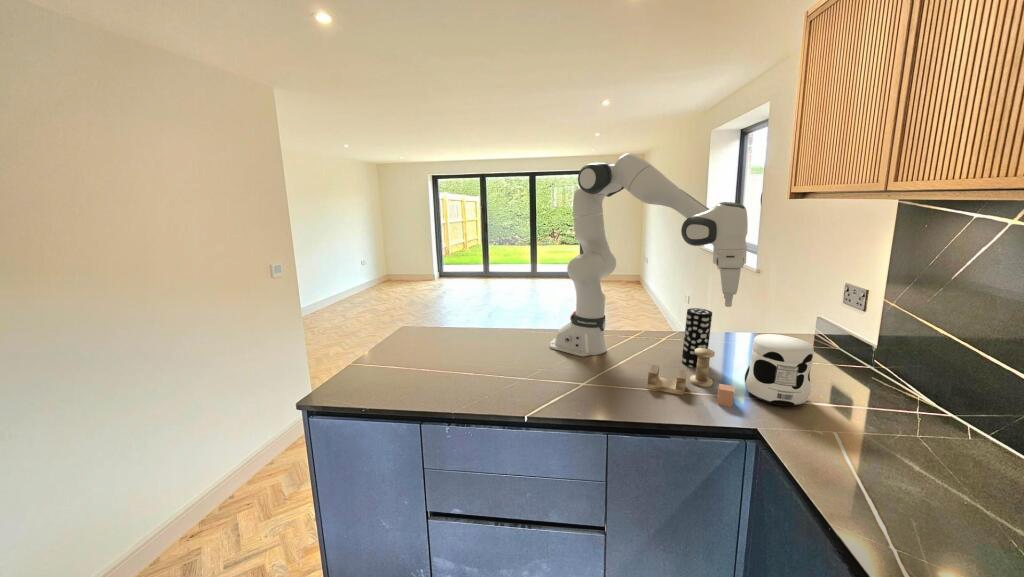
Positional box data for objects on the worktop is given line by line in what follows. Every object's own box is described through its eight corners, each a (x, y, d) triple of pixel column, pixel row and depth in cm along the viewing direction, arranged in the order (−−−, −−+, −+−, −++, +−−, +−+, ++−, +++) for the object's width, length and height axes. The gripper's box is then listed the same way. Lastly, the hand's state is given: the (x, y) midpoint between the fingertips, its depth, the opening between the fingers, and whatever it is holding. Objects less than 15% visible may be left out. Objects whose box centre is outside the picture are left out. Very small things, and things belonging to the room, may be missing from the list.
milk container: (769, 381, 143) (777, 330, 139) (821, 405, 128) (832, 348, 124) (730, 389, 137) (737, 336, 133) (780, 415, 122) (790, 356, 117)
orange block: (717, 404, 128) (719, 389, 126) (717, 398, 131) (719, 383, 130) (732, 407, 126) (734, 391, 125) (731, 401, 130) (733, 386, 128)
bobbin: (688, 384, 140) (692, 353, 138) (690, 376, 147) (693, 346, 144) (712, 388, 138) (716, 356, 135) (712, 380, 144) (716, 349, 141)
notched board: (647, 388, 137) (648, 372, 136) (650, 379, 144) (651, 364, 142) (683, 395, 133) (685, 378, 132) (685, 386, 139) (686, 370, 138)
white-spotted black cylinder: (702, 370, 152) (709, 316, 147) (678, 364, 157) (684, 311, 152) (708, 362, 158) (714, 310, 154) (685, 357, 163) (690, 307, 158)
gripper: (717, 252, 138) (715, 293, 141) (718, 263, 120) (716, 310, 123) (739, 252, 135) (737, 294, 138) (743, 263, 117) (741, 311, 120)
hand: (727, 302), depth 130 cm, fingers open, 8 cm apart
